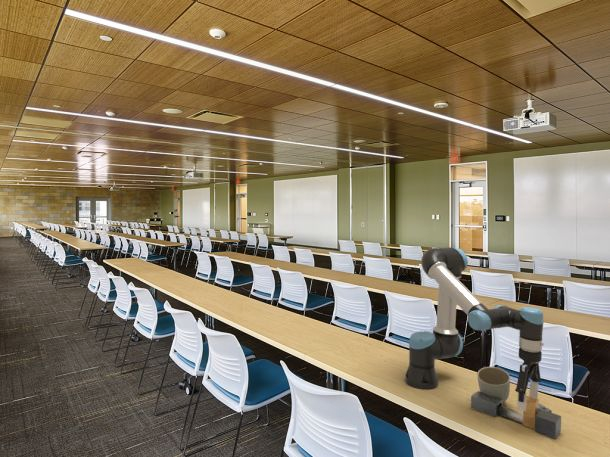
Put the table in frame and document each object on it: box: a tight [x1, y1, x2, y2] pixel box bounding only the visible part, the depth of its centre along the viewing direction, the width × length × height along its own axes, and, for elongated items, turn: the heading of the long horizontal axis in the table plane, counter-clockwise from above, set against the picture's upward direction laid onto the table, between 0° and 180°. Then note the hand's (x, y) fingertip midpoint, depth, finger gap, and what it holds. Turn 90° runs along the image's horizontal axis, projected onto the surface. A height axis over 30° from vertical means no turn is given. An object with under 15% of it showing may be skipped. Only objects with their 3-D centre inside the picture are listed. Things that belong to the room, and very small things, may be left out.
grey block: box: [470, 390, 504, 418], centre depth 157 cm, size 10×7×5 cm
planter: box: [477, 366, 511, 403], centre depth 163 cm, size 12×12×11 cm
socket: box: [534, 410, 562, 440], centre depth 141 cm, size 6×7×6 cm
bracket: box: [538, 403, 553, 413], centre depth 159 cm, size 4×10×2 cm, turn 15°
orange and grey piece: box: [497, 395, 540, 430], centre depth 147 cm, size 19×4×10 cm, turn 43°
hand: (527, 403), depth 146 cm, fingers open, 13 cm apart
